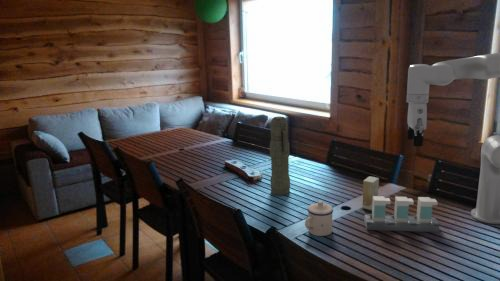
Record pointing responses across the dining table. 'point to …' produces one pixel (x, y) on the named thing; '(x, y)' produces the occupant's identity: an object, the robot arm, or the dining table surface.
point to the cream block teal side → (425, 209)
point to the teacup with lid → (319, 219)
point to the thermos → (279, 157)
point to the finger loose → (379, 208)
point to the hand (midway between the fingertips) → (414, 142)
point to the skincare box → (370, 191)
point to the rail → (401, 224)
